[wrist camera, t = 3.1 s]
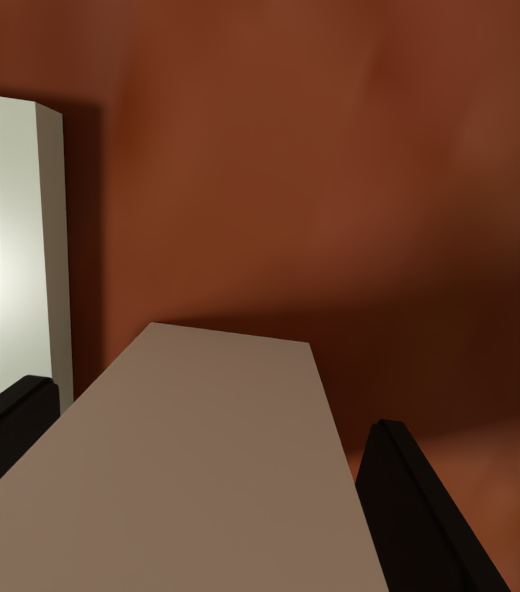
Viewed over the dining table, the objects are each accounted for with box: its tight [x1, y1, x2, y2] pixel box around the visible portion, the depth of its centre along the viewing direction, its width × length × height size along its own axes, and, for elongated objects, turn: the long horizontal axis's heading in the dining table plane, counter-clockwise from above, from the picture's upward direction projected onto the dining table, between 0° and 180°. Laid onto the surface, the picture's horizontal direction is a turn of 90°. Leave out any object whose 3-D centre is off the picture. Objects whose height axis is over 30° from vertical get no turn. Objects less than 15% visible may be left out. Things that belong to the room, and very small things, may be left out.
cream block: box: [0, 322, 389, 592], centre depth 7 cm, size 5×5×8 cm
